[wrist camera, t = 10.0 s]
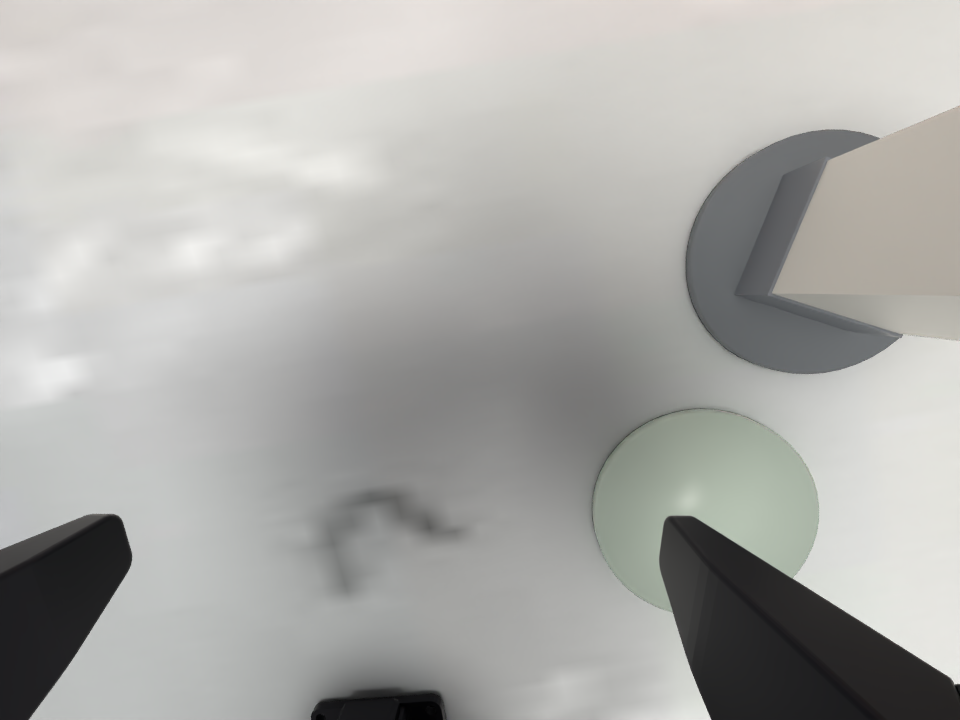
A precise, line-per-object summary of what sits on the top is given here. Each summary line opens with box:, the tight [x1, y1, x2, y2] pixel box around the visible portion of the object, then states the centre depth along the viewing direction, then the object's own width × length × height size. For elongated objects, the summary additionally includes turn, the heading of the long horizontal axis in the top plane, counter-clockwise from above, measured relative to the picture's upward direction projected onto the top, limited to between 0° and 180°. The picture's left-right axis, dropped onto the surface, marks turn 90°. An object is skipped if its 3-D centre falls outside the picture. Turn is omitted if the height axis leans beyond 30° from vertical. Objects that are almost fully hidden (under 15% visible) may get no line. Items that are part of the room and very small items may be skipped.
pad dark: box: [686, 130, 899, 374], centre depth 18 cm, size 9×9×1 cm
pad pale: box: [592, 409, 819, 612], centre depth 20 cm, size 9×9×1 cm
